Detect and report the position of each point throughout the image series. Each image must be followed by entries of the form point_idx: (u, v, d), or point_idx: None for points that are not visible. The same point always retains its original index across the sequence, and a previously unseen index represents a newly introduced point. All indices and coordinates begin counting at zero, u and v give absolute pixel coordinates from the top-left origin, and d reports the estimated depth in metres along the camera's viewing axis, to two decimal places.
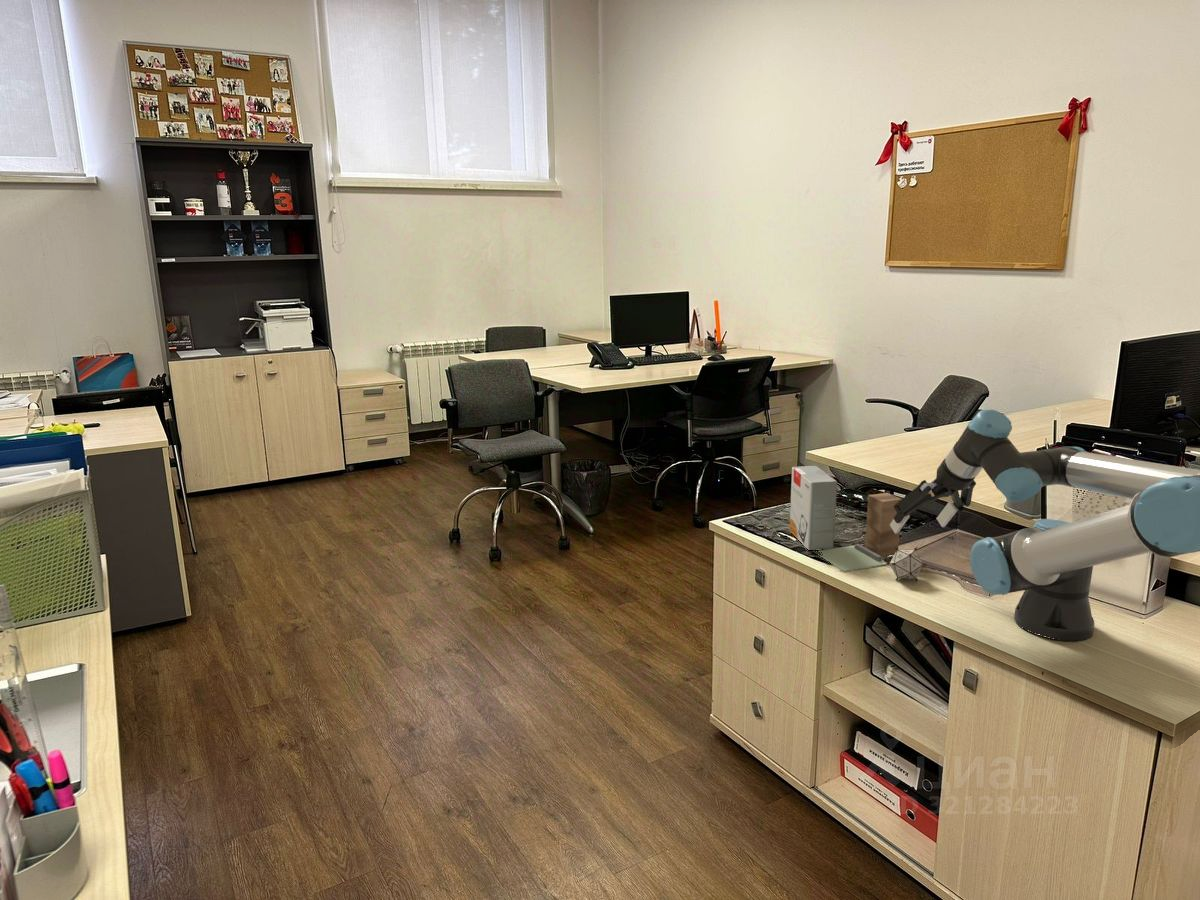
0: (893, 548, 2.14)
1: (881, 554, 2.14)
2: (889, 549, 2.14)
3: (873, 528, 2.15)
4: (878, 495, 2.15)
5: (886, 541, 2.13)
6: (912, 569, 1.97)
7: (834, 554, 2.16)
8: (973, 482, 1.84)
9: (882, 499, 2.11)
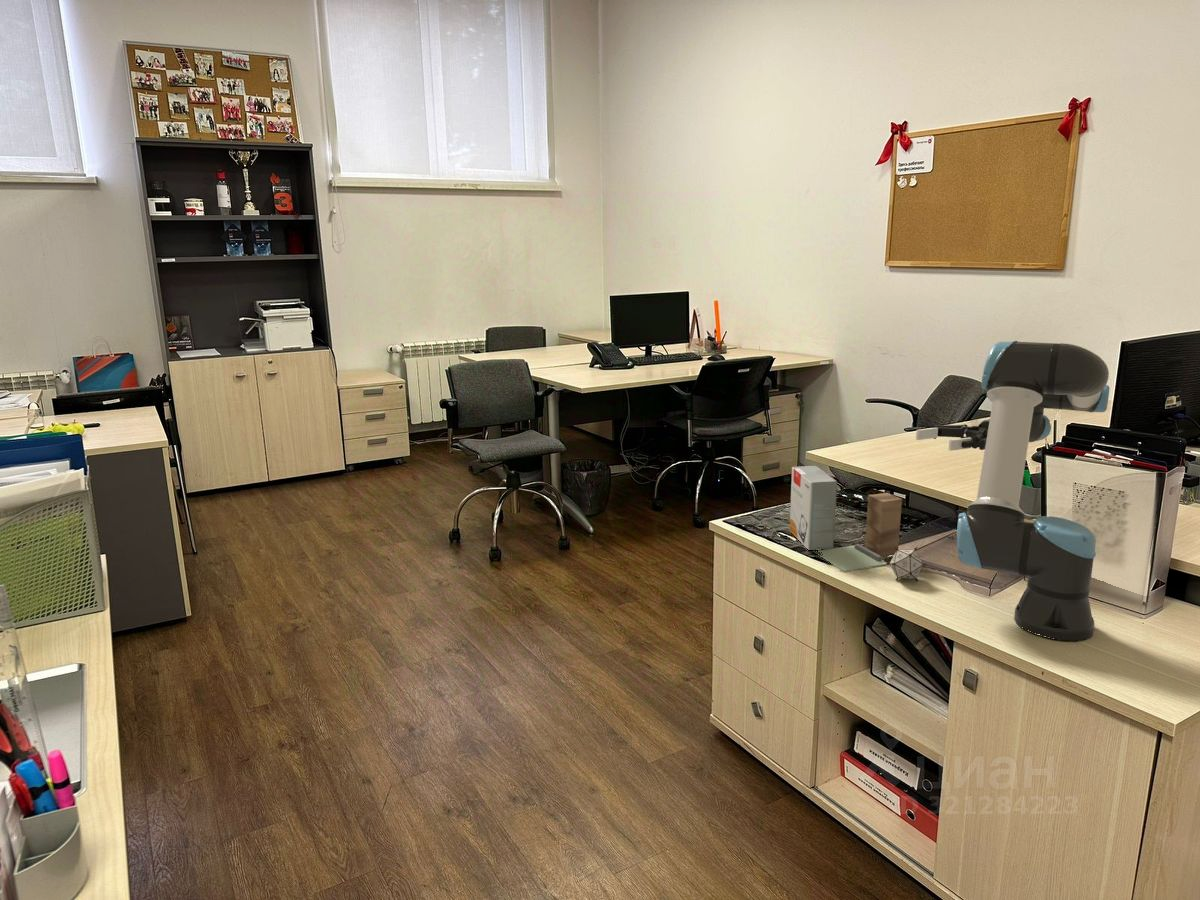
0: (893, 548, 2.14)
1: (881, 554, 2.14)
2: (889, 549, 2.14)
3: (873, 528, 2.15)
4: (878, 495, 2.15)
5: (886, 541, 2.13)
6: (912, 569, 1.97)
7: (834, 554, 2.16)
8: None
9: (882, 499, 2.11)
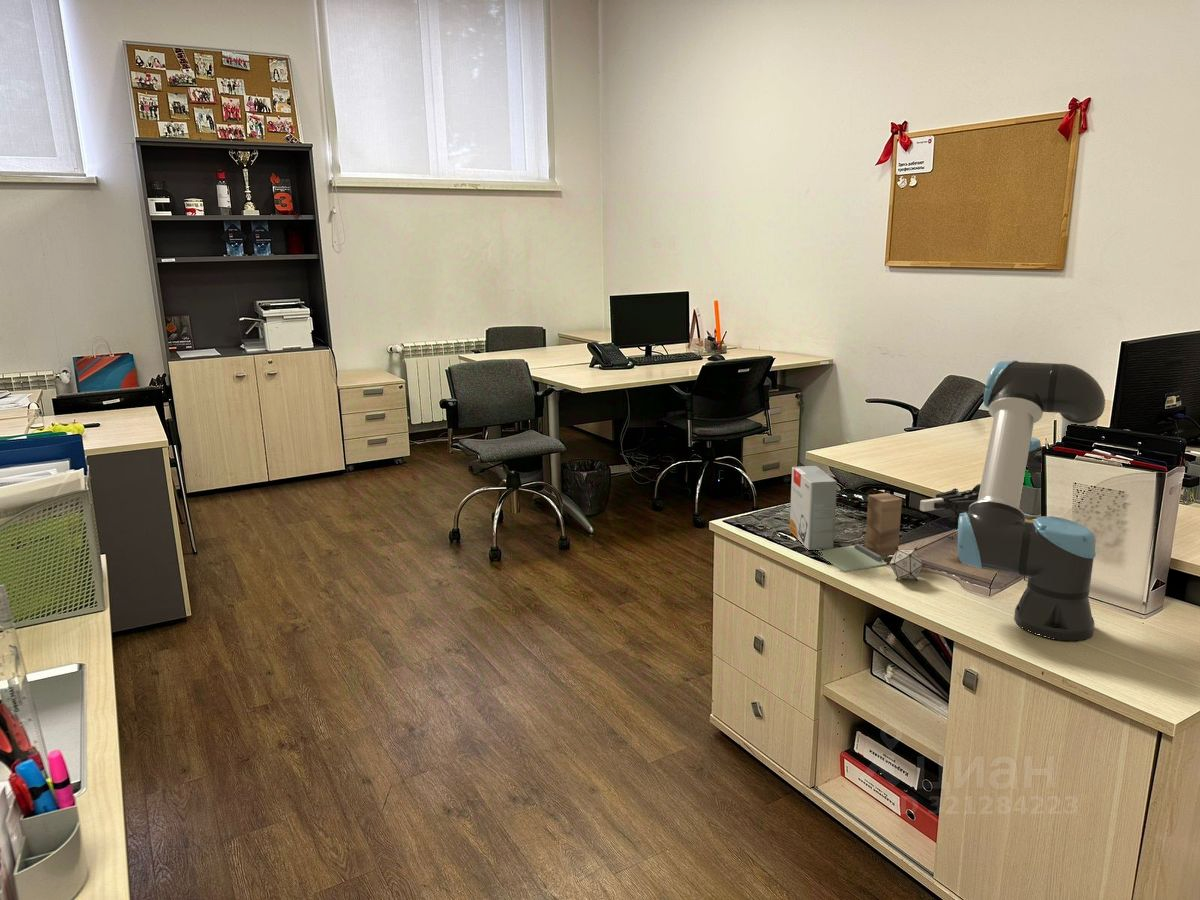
0: (893, 548, 2.14)
1: (881, 554, 2.14)
2: (889, 549, 2.14)
3: (873, 528, 2.15)
4: (878, 495, 2.15)
5: (886, 541, 2.13)
6: (912, 569, 1.97)
7: (834, 554, 2.16)
8: None
9: (882, 499, 2.11)
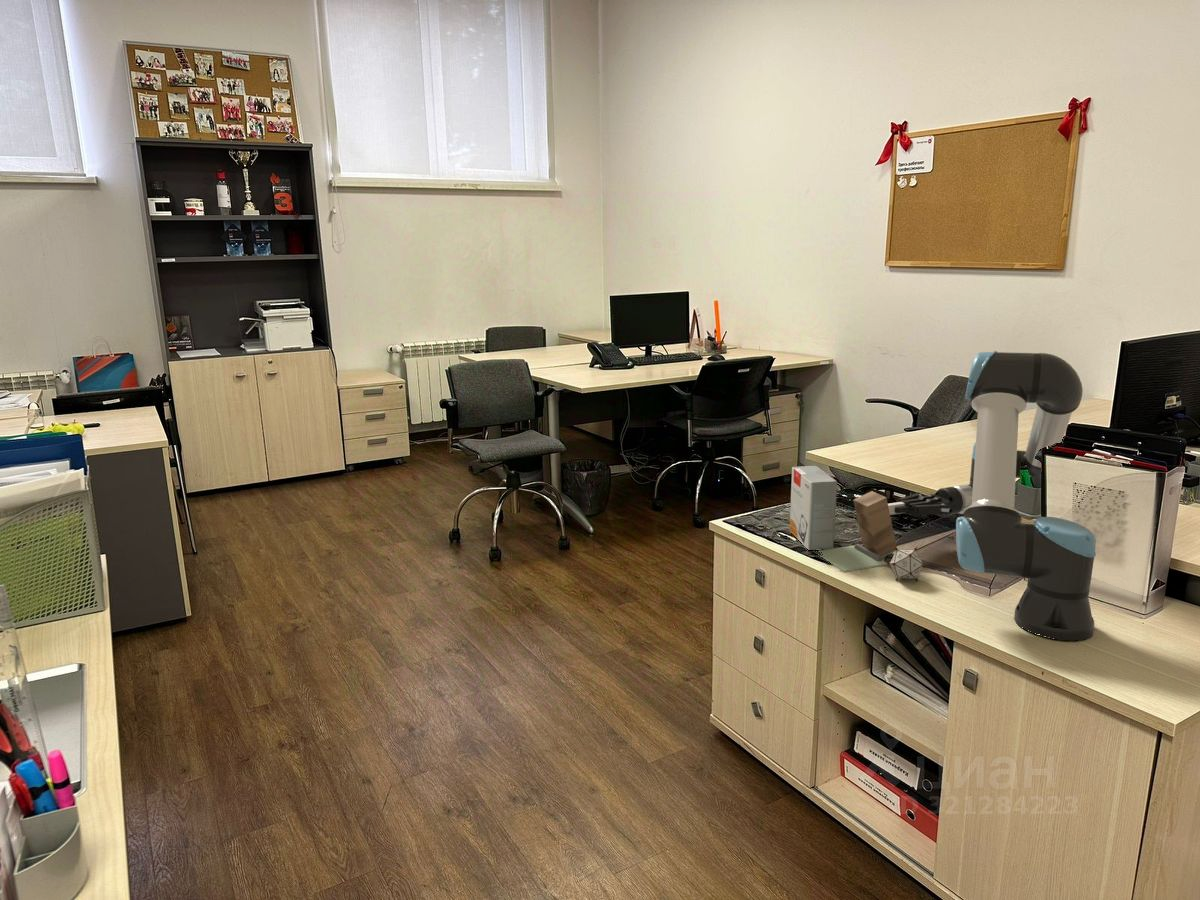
0: (890, 544, 2.14)
1: (880, 553, 2.13)
2: (886, 546, 2.13)
3: (866, 530, 2.14)
4: (862, 497, 2.13)
5: (881, 540, 2.12)
6: (912, 569, 1.97)
7: (834, 554, 2.16)
8: None
9: (867, 502, 2.10)
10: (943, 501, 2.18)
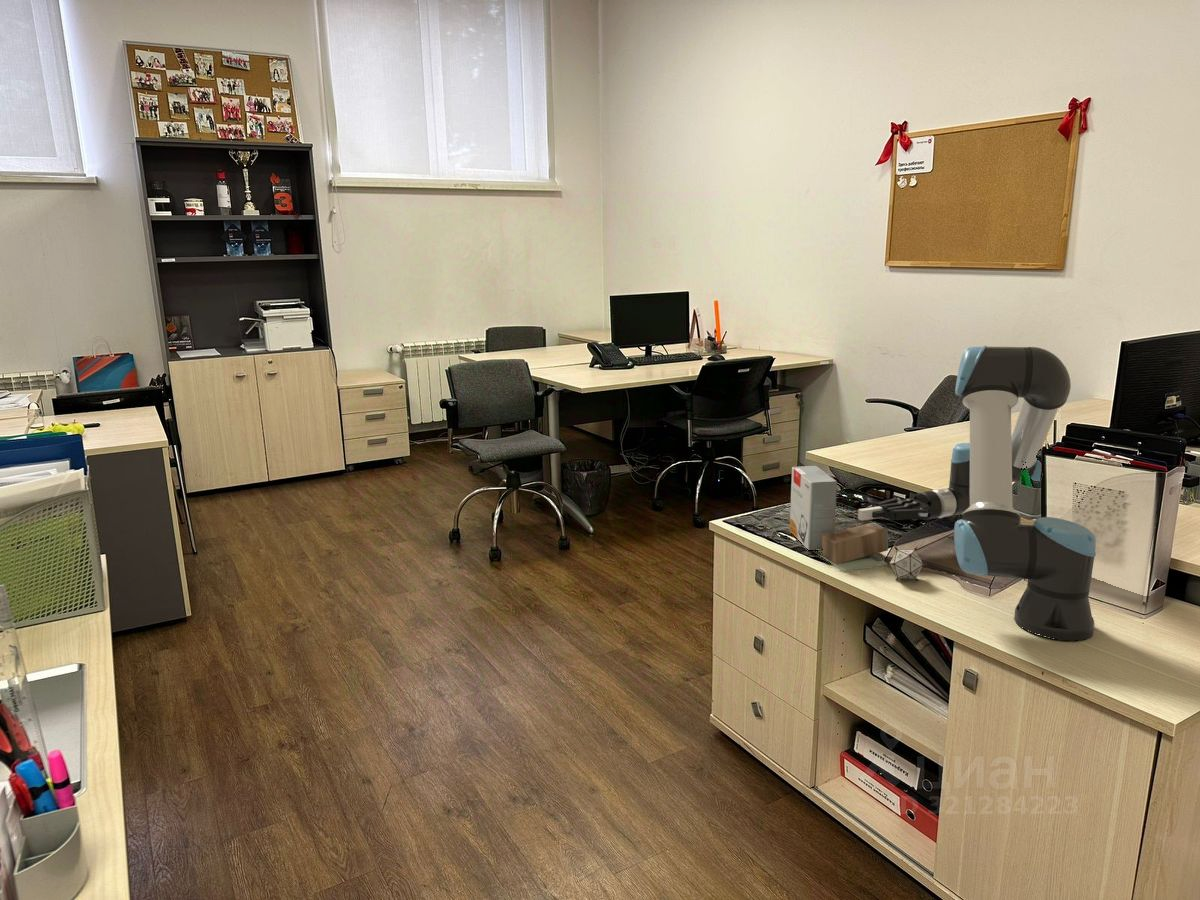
0: (879, 536, 2.12)
1: (884, 548, 2.13)
2: (880, 541, 2.12)
3: None
4: (824, 549, 2.14)
5: (872, 547, 2.12)
6: (912, 569, 1.97)
7: None
8: None
9: (831, 558, 2.11)
10: (921, 505, 2.15)
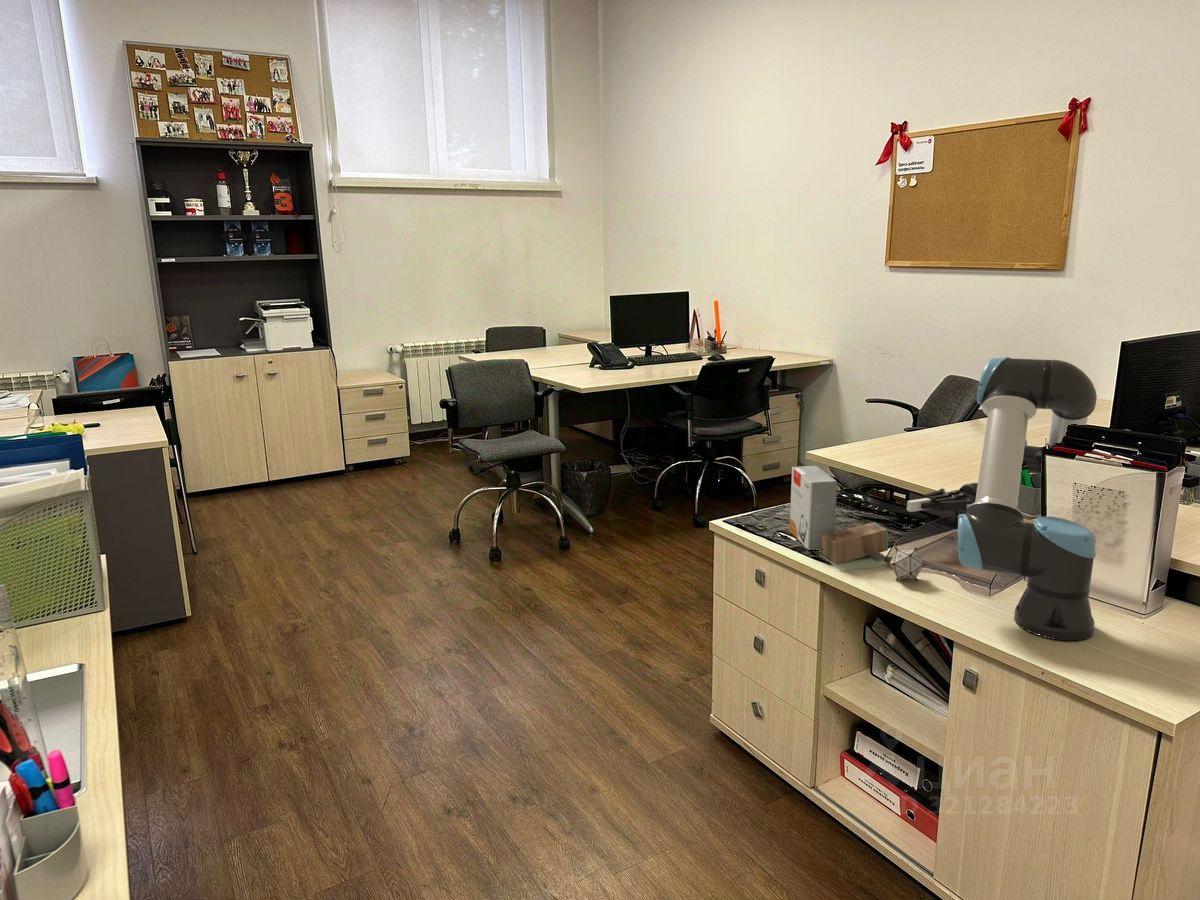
0: (879, 536, 2.12)
1: (884, 548, 2.13)
2: (880, 541, 2.12)
3: None
4: (824, 549, 2.14)
5: (872, 547, 2.12)
6: (912, 569, 1.97)
7: None
8: None
9: (831, 558, 2.11)
10: (968, 497, 2.20)
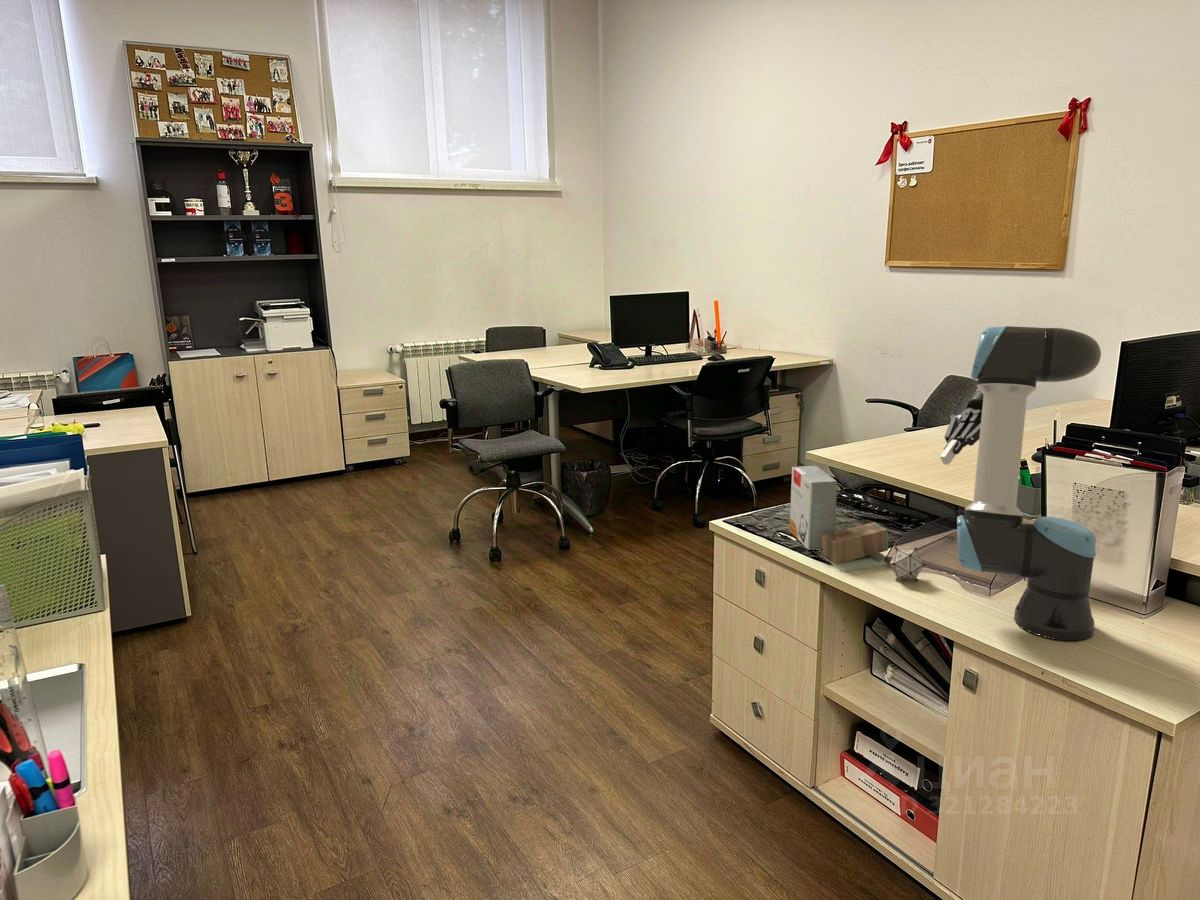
0: (879, 536, 2.12)
1: (884, 548, 2.13)
2: (880, 541, 2.12)
3: None
4: (824, 549, 2.14)
5: (872, 547, 2.12)
6: (912, 569, 1.97)
7: None
8: None
9: (831, 558, 2.11)
10: None
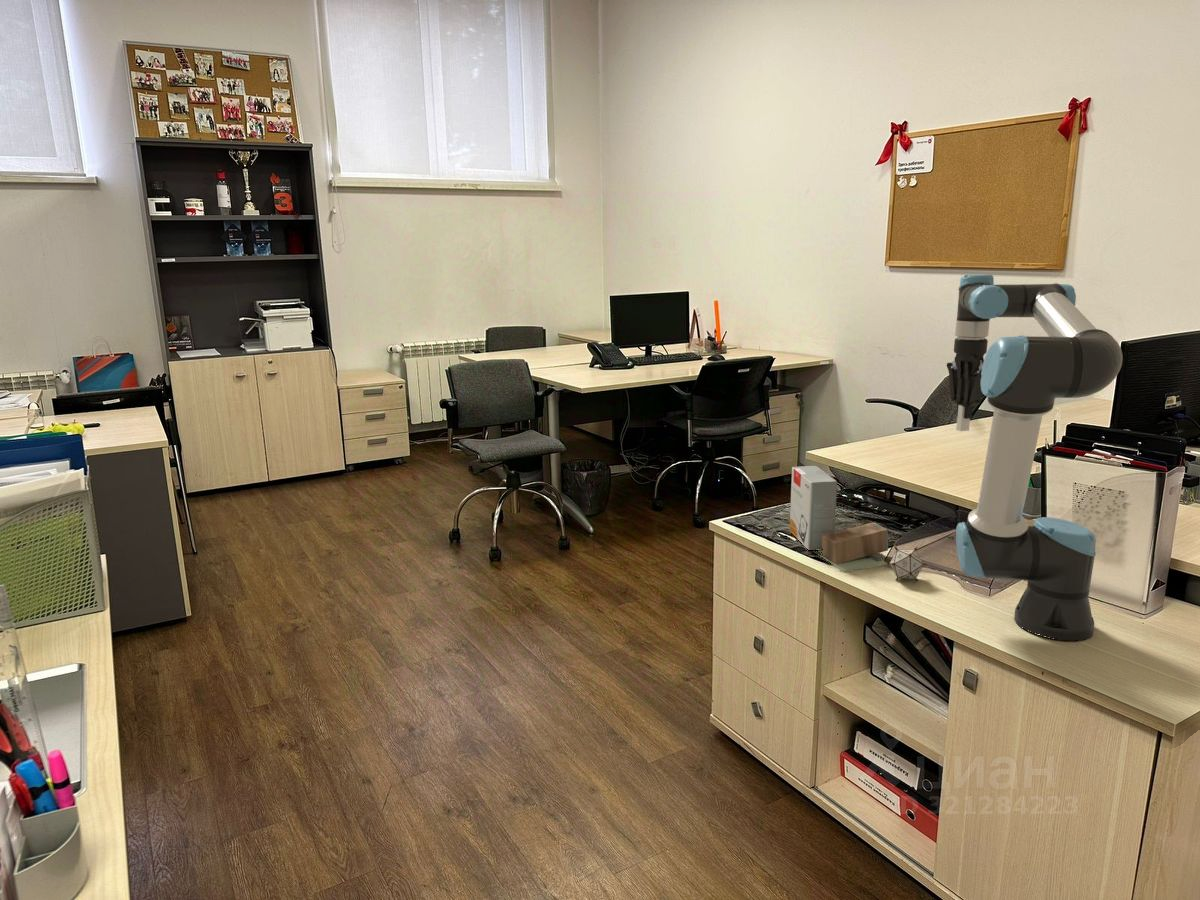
0: (879, 536, 2.12)
1: (884, 548, 2.13)
2: (880, 541, 2.12)
3: None
4: (824, 549, 2.14)
5: (872, 547, 2.12)
6: (912, 569, 1.97)
7: None
8: None
9: (831, 558, 2.11)
10: (973, 363, 1.99)
